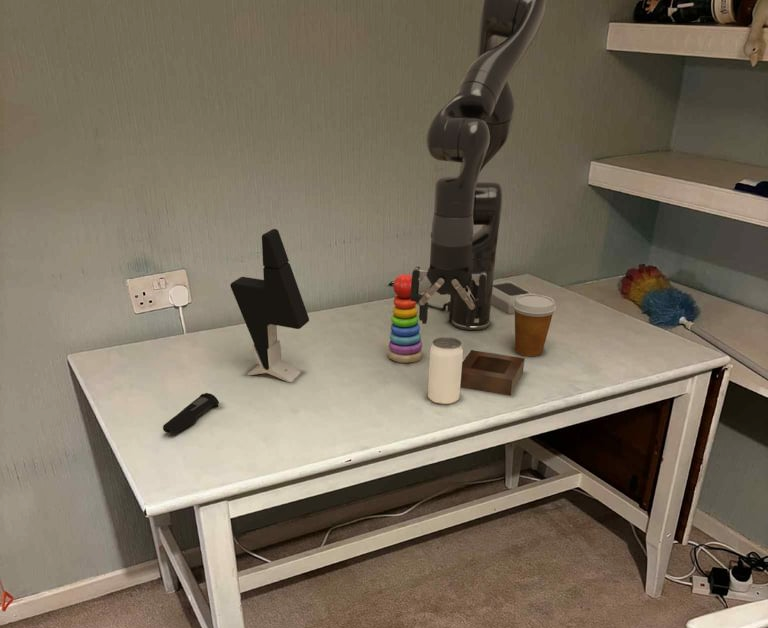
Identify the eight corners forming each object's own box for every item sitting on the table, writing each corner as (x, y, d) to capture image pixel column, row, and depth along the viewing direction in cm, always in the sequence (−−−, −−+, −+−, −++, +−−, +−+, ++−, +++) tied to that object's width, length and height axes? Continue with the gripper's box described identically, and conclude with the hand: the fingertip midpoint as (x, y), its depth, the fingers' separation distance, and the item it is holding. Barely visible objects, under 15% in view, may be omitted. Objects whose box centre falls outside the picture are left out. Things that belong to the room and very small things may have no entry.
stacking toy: (408, 347, 179) (410, 266, 169) (429, 359, 174) (433, 276, 164) (380, 355, 176) (381, 273, 165) (401, 367, 170) (404, 283, 160)
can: (457, 406, 155) (461, 350, 148) (425, 403, 156) (428, 347, 149) (461, 392, 160) (465, 337, 153) (430, 389, 161) (433, 335, 154)
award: (312, 374, 167) (306, 231, 150) (302, 384, 162) (295, 238, 145) (249, 364, 170) (236, 223, 154) (238, 373, 166) (223, 230, 149)
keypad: (508, 277, 211) (540, 294, 200) (507, 291, 213) (538, 308, 202) (478, 282, 208) (509, 299, 197) (477, 295, 210) (508, 313, 199)
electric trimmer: (158, 437, 143) (155, 422, 141) (205, 402, 155) (203, 387, 153) (175, 441, 142) (173, 426, 140) (221, 405, 154) (219, 391, 152)
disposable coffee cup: (553, 347, 181) (561, 297, 174) (543, 362, 173) (550, 310, 167) (514, 340, 184) (520, 291, 177) (502, 354, 177) (508, 303, 170)
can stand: (454, 386, 163) (456, 370, 161) (469, 364, 172) (471, 349, 170) (510, 395, 159) (512, 380, 157) (523, 373, 169) (524, 358, 167)
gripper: (492, 235, 142) (484, 320, 151) (416, 230, 144) (413, 314, 153) (489, 247, 136) (481, 335, 145) (409, 241, 138) (406, 328, 147)
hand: (446, 324), depth 149 cm, fingers open, 8 cm apart
